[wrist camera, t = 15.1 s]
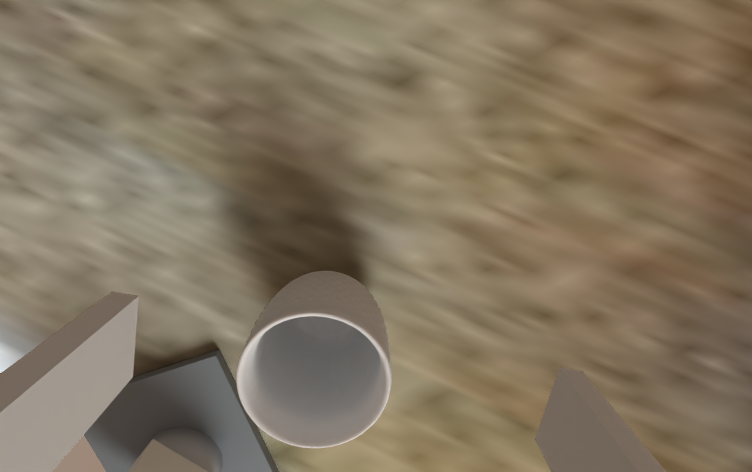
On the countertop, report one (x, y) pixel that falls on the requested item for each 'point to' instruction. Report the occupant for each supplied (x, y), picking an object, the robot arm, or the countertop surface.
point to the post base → (182, 419)
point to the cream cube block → (162, 460)
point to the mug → (316, 362)
